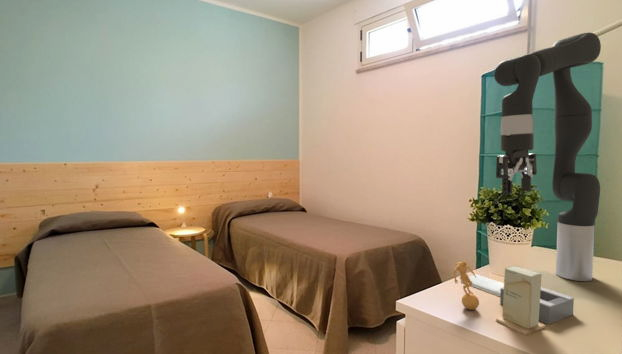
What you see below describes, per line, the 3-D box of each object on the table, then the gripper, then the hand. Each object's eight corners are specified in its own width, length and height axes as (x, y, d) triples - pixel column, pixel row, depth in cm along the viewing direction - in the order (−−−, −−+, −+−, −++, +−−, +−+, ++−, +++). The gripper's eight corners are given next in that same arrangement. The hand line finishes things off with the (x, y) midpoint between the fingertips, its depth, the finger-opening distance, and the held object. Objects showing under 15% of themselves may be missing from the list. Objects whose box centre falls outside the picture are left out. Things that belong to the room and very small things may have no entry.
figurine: (467, 316, 82) (468, 268, 81) (446, 307, 87) (446, 261, 86) (487, 308, 86) (488, 262, 85) (465, 299, 91) (466, 256, 90)
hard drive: (460, 278, 104) (500, 292, 93) (476, 273, 108) (516, 286, 97) (460, 284, 104) (500, 298, 93) (476, 278, 108) (516, 291, 97)
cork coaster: (514, 314, 82) (514, 312, 82) (545, 327, 76) (545, 324, 76) (496, 321, 79) (496, 318, 79) (526, 335, 73) (526, 332, 73)
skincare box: (501, 317, 80) (502, 267, 79) (512, 313, 82) (514, 264, 81) (529, 329, 74) (530, 276, 73) (540, 325, 76) (542, 272, 75)
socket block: (523, 296, 93) (524, 281, 93) (573, 314, 82) (573, 297, 82) (500, 303, 88) (500, 287, 88) (549, 323, 78) (549, 306, 77)
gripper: (518, 133, 97) (518, 189, 98) (486, 134, 90) (487, 194, 91) (546, 131, 90) (546, 191, 91) (514, 132, 84) (514, 196, 85)
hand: (516, 192), depth 91 cm, fingers open, 8 cm apart
